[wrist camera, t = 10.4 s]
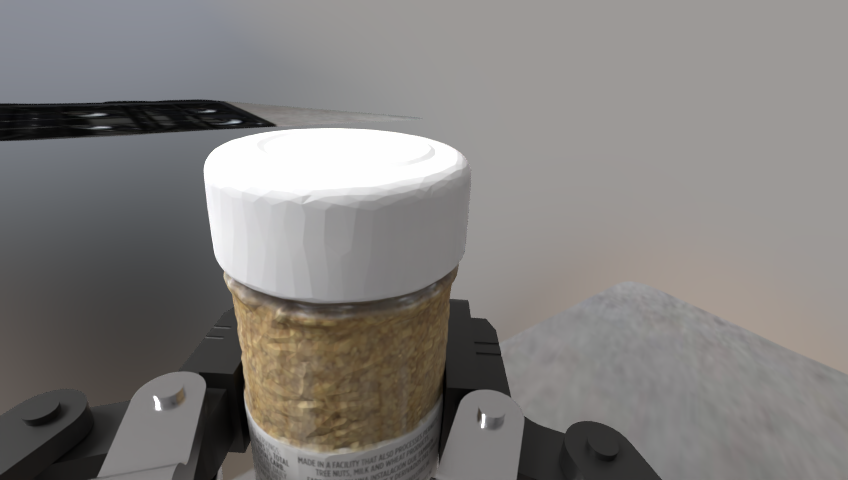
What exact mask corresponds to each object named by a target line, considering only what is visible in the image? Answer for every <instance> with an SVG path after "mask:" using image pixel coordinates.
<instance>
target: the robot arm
mask: <svg viewBox="0 0 848 480" xmlns="http://www.w3.org/2000/svg"><path fill="white" fill-rule="evenodd" d="M449 303H450V308H449V312H450V314H449V319H448V338H447V345H446V360H445V370H444V385H443V414H442V423H441V432H440V442H439V467H438V470H437V473H436V475H435V478H433V477H431V478H430V480H662V479H661V478H660V477H659V476H658V475H657V474H656V472H655V471H654V470H653V469H652V468H651V466H650V465H649V464H648V463H647V462H646V461H645V459H644V458H643V457H642V456H641V455H640V453H639V452H638V451H637V450H636V449H635V448H634V446H633V445H632V444H631V443H630V442H629V441H628V440H627V439H626V438H625V437H624V436H623V435H622V434H621V433H619V432H618V431H616V430H615V429H613V428H611V427H609V426H606V425H604V424H601V423H597V422H592V421H582V422H578V423H575V424H573V425H571V426H570V427H569V428H568V429H567V431H566V433H562V432H559V431H555V430H552V429H549V428H546V427H543V426H541V425H538V424H536V423H534V422H532V421H531V420H529V419H528V418H526V417H525V416H524V414H523V412H522V409H521V408H520V406H519V405H518V404H517V403H516V402H515V401H514V400H513V399H512V398H511V395H510V390H509V386H508V382H507V377H506V373H505V368H504V364H503V360H502V357H501V351H500V346H499V342H498V338H497V334H496V330H495V329H494V328H493V326H492V325H491V324H490V323H489V322H488V321H487V319H480V318H471V316H470V309H469V302H468V300H457V299H449ZM237 328H238V322H237V319H236V315H235V307H233V308H232V309H230V310H228V311H227V312H225V313H224V314H223V315H222V316H221V318H220V319H219V320H218V321H217V323H216V324H215V325H214V328H212V329H211V330H210V332H209V333H208V334H207V335H206V338H204V339H203V340H202V342H201V343H200V344H199V346H198V347H197V348H196V349H195V351H194V352H193V353H192V354H191V356H190V357H189V358H188V360H187V361H186V362H185V363H184V364H183V366H182V367H181V368H180V369H179V371H178V372H174V373H169V374H165V375H162V376H160V377H158V378H155V379H153V380H152V381H150V382H148V383H146V384H145V385H144V386H142V387H141V388H140V389H139V390H138V391H137V392H136V393H135V395H134V396H133V398H132V399H131V400H130V401H125V402H119V403H114V404H108V405H102V406H96V407H90V406H89V403H88V400H87V397H86V395H85V394H84V393H82V392H81V391H78V390H74V389H60V390H54V391H50V392H46V393H43V394H40V395H37V396H34V397H32V398H30V399H28V400H26V401H24V402H22V403H20V404H18V405H17V406H15V407H14V408H12V409H10V410H9V411H7V412H6V413H4V414H2V415H1V416H0V480H222V474H223V473H222V468H221V465H222V463H223V461H224V459H225V457H226V455H227V453H228V452H238V453H245V451H246V449H247V447H248V445H249V443H250V441H251V440H250V434H249V427H248V421H247V415H246V408H245V400H244V383H245V379H244V374H243V364H242V360H241V357H242V349H241V346H240V341H239V336H238V330H237Z"/></svg>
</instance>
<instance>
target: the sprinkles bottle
mask: <svg viewBox="0 0 848 480" xmlns="http://www.w3.org/2000/svg"><path fill="white" fill-rule="evenodd" d="M204 180H205V189H206V197H207V206H208V213H209V220H210V228H211V235H212V241H213V247H214V253H215V256H216V259H217V261H218V262H219V264H220V266H221V267H222V268H223V270H224V279H225V282H226V285H227V287H228V289H229V290H230V291H231V293H232V294H233V303H234V307H235V315H236V319H237V322H238V328H237V330H238V336H239V341H240V346H241V349H242V357H241V360H242V364H243V374H244V379H245V383H244V400H245V408H246V415H247V421H248V427H249V434H250V440H251V446H252V453H253V460H254V469H255V475H256V480H430V478H431V477H433V478H435V475H436V472H437V463H438V452H439V442H440V432H441V423H442V414H443V385H444V370H445V360H446V345H447V338H448V319H449V314H450V312H449V308H450V303H449V299H450V291H451V285H452V283H453V281H454V280H455V278H456V276H457V271H458V263H459V261H460V260H461V259H462V257H463V255H464V252H465V244H466V234H467V224H468V213H469V199H470V187H471V169H470V166H469V163H468V161H467V159H466V158H465V157H464V156H463V155H462V154H461V153H460V152H459V151H457V150H455V149H454V148H452V147H450V146H448V145H446V144H443V143H440V142H437V141H434V140H431V139H427V138H423V137H419V136H414V135H407V134H401V133H395V132H387V131H378V130H364V129H343V128H339V129H338V128H333V129H332V128H328V129H326V128H322V129H296V130H284V131H274V132H266V133H260V134H255V135H250V136H247V137H243V138H239V139H236V140H232V141H229V142H227V143H225V144H223V145H221V146H220V147H218V148H216V149H215V150H214V151H213V152H212V153H211V154H210V155H209V157H208V158H207V160H206V162H205V166H204Z"/></svg>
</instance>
